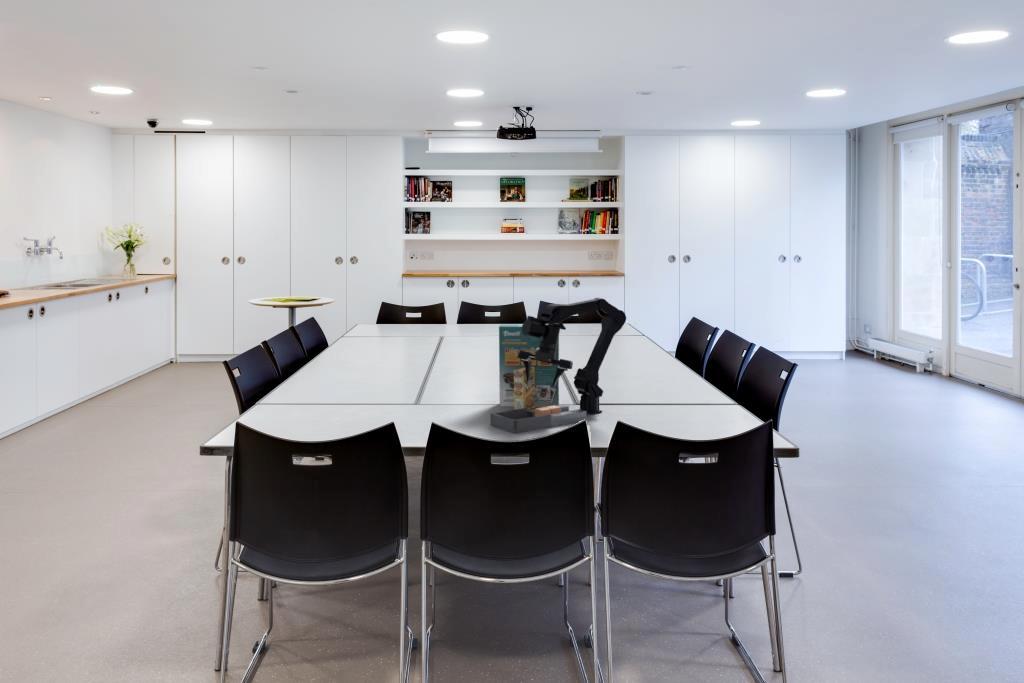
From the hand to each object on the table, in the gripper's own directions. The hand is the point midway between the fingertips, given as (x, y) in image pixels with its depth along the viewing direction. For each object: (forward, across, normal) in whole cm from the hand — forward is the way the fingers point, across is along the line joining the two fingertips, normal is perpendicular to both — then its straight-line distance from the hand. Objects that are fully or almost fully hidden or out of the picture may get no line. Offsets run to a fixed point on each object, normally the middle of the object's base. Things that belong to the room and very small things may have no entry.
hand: (540, 384), depth 293 cm
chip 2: (+10, +7, 0) cm, 12 cm away
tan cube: (+11, +4, -3) cm, 12 cm away
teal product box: (+10, -7, +23) cm, 26 cm away
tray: (+15, -2, -10) cm, 18 cm away
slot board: (+11, +8, +2) cm, 14 cm away
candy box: (+12, -7, +15) cm, 20 cm away
